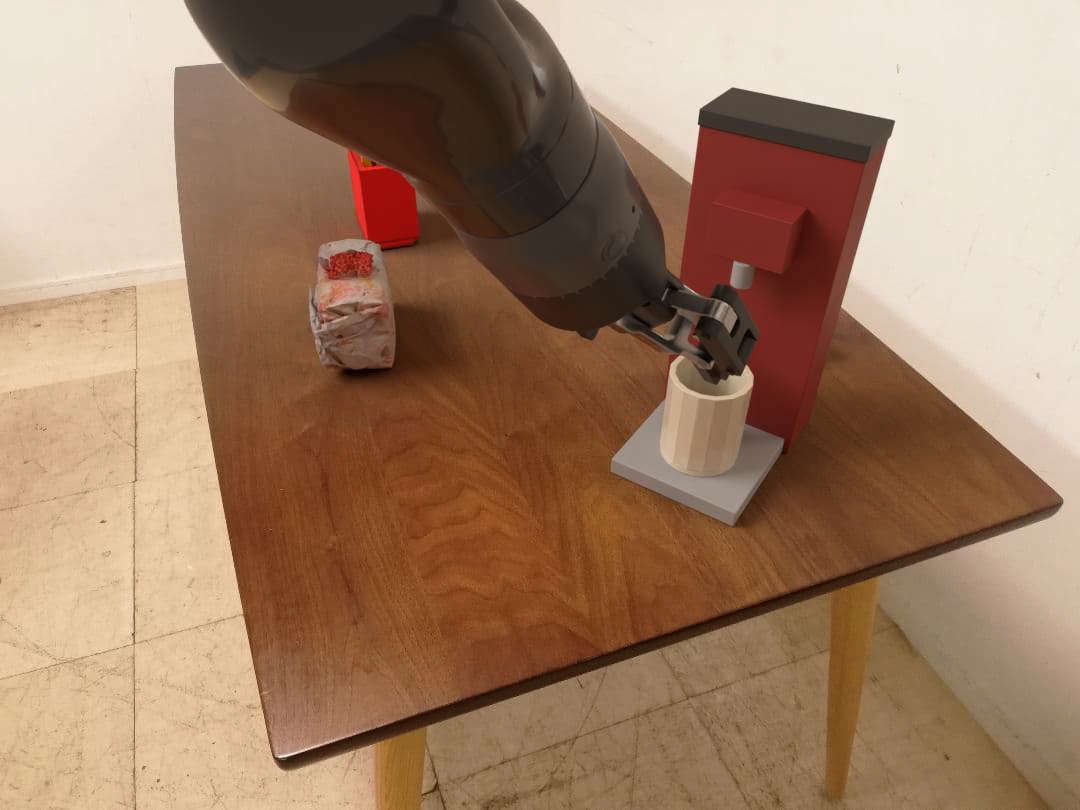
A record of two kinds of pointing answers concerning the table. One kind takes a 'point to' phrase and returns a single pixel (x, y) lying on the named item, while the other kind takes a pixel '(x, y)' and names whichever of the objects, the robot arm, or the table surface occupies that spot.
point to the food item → (353, 307)
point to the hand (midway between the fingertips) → (654, 346)
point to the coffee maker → (768, 269)
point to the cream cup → (703, 420)
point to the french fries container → (383, 203)
